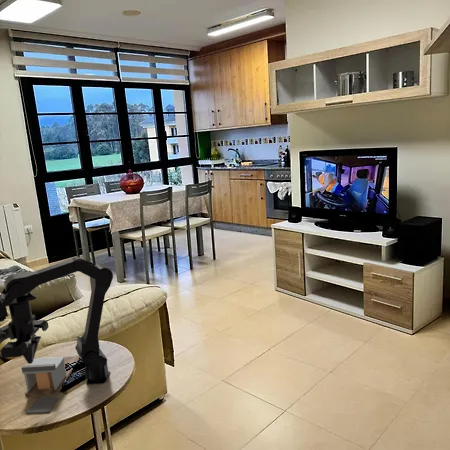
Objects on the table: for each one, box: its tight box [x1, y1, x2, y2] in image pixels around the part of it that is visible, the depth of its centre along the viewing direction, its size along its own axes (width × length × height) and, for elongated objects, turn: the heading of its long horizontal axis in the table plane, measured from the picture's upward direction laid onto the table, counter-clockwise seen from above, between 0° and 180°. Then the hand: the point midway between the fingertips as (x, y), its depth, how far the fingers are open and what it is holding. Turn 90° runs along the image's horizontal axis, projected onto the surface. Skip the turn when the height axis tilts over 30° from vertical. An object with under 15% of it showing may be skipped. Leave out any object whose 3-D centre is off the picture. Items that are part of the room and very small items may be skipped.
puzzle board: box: [24, 355, 80, 397], centre depth 146 cm, size 10×22×1 cm, turn 179°
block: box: [35, 372, 54, 390], centre depth 139 cm, size 4×5×6 cm
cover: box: [20, 356, 66, 392], centre depth 139 cm, size 10×8×8 cm
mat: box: [25, 396, 59, 415], centre depth 130 cm, size 7×7×1 cm
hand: (30, 362), depth 130 cm, fingers closed
